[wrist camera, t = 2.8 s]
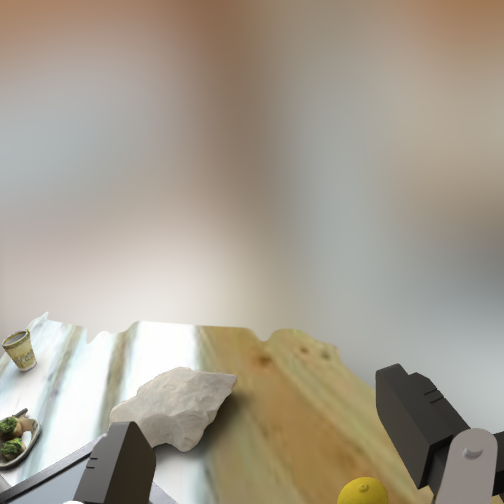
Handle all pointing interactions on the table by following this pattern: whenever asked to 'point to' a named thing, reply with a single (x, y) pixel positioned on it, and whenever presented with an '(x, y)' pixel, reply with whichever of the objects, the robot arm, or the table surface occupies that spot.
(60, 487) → the trapdoor
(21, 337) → the ceramic cup
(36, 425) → the salad plate
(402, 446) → the robot arm
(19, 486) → the trapdoor frame
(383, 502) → the lemon
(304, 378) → the table surface
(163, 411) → the rock
